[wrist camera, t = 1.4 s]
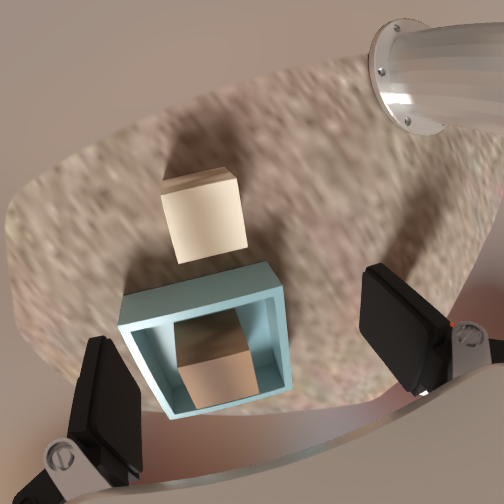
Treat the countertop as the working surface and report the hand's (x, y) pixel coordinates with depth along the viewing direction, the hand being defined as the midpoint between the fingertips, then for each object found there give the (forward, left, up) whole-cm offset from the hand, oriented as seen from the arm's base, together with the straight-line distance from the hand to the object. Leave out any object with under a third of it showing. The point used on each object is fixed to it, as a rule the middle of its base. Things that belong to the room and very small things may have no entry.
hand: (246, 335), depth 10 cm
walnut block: (+2, +13, -16) cm, 21 cm away
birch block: (0, 0, -16) cm, 16 cm away
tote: (+2, +13, -16) cm, 21 cm away
